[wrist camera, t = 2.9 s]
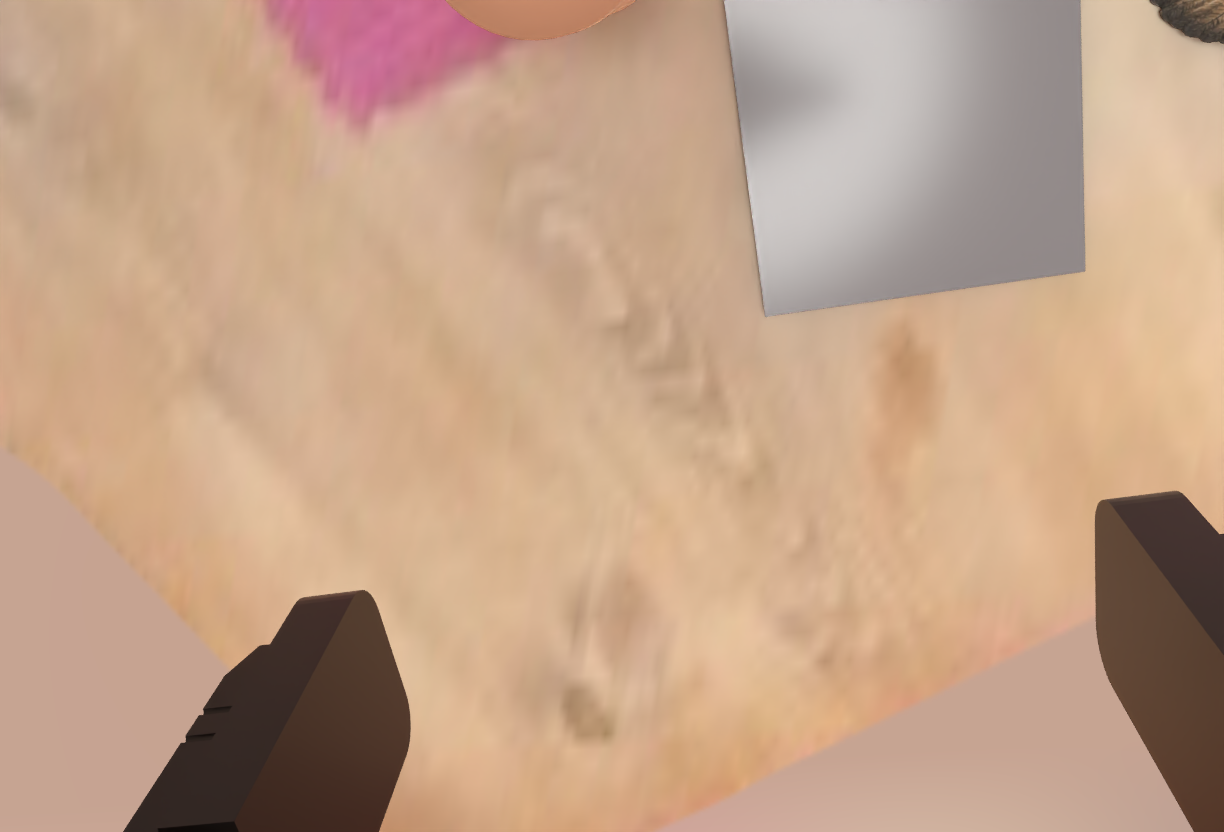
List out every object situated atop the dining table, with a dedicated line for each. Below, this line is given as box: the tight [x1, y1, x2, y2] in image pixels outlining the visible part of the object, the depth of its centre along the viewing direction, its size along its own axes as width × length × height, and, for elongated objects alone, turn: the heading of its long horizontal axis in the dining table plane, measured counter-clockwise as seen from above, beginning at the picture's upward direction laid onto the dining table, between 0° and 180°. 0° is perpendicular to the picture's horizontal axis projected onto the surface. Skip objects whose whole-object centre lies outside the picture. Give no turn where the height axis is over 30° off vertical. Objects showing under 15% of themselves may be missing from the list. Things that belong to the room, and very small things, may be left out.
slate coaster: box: [724, 0, 1085, 317], centre depth 35 cm, size 11×11×1 cm
